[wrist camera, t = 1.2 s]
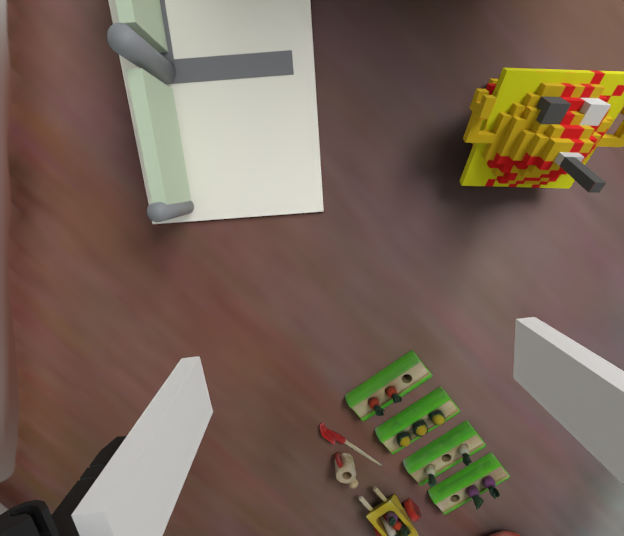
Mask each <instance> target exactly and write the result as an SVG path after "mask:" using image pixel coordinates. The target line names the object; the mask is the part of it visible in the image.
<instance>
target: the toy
mask: <svg viewBox="0 0 624 536" xmlns="http://www.w3.org/2000/svg"><path fill="white" fill-rule="evenodd" d="M623 106H624V72H618V71H588V70H558V69H528V68H503V69H502V72H501V73H500V76H499V79H492V78H490V80H489V82H488V84H487V87H486V89H477V88H476V91H475V93H474V96H473V99H472V102H471V105H470V109H471V111H472V114H471V117H470V120H469V123H468V126H467V128H466V131H465V134H464V137H463V140H464V141H465V142H466V143H472V144H473V147H472V149H471V152H470V155H469V158H468V160H467V163H466V166H465V168H464V171H463V173H462V176H461V179H460V181H459V182H460V183H461V185H462V186H495V187H534V188H570V187H571V186H572V184H573V183H574V181H577V182H578V183H579V184H580V185H581V186H582V187H583V188H584V189H585V190H586V191H588V192H598V193H599V192H600V191H601V189H602V188H603V187H604V185H605V184H606V182H605V181H604V180H602V179H601V178H600V177H599V176H597V175H596V174H595V173H594V172H592V171H591V170H590V169H589V168H588V167H586V166H585V164H586V163H587V161H588V160H589V158H590V157H591V155H592V154H593V152H594V151H595V149H596V148H597V146H601V147H623V145H624V120H623V122H622V123H621V125H620V126H619V128H618V129H617V131H616V132H615V134H606V132H607V131H608V129H609V128H610V126H611V125H612V123H613V122H614V120H615V119H616V117H617V116H618V114H619V113H621V114H623V115H624V108H623ZM622 108H623V109H622ZM621 109H622V111H621ZM620 111H621V112H620Z"/></svg>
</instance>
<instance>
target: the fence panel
mask: <svg viewBox="0 0 624 536" xmlns="http://www.w3.org/2000/svg"><path fill="white" fill-rule="evenodd" d="M126 72H127V77H128V82H129V87H130V93H131V98H132V103H133V108H134V113H135V118H136V123H137V129H138V134H139V139H140V144H141V149H142V154H143V159H144V164H145V170H146V175H147V180H148V185H149V190H150V195H151V200H152V204H150V205H149V206H148V208H147V215H148V217H149V218H150V219H151V220H152V221H154V222H162V221H166V220H169V219H173V218H176V217H180V216H183V215H187V214H190V213H192V212H193V210H194V204H193V202H192V201H191V197H190V191H189V185H188V179H187V173H186V167H185V160H184V154H183V148H182V142H181V136H180V130H179V124H178V118H177V112H176V106H175V100H174V94H173V89H172V88H170V87H169V86H167V85H166V84H164V83H163V82H161V81H160V80H158V79H157V78H155V77H154V76H152V75H151V74H150V73H148V72H147V71H145V70H144V69H142V68H137V69H126Z"/></svg>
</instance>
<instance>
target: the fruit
mask: <svg viewBox="0 0 624 536" xmlns="http://www.w3.org/2000/svg"><path fill="white" fill-rule="evenodd" d="M488 536H521V535H519V534H517V533H515V532H512V531H505V530H503V531H499V532H496V533H494V534H490V535H488Z"/></svg>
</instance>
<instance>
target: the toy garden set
mask: <svg viewBox="0 0 624 536" xmlns="http://www.w3.org/2000/svg"><path fill="white" fill-rule="evenodd" d="M405 374H409V375H408V376H407V377H404V378H403V376H404V375H405ZM431 377H432V374H431V373H430V371H429V370H428V369H427V368H426V367H425V365H424V364H423V363H422V362H421V360H420V359H419V358H418V357H417V355H416V354H415V353H414V352H413V350H411V351H410V352H408V353H407V354H405V355H404V356H402V357H401V358H399V359H398V360H396V361H395V362H394V363H392V364H391V365H389V366H388V367H386V368H385V369H383V370H382V371H380V372H379V373H377V374H376V375H374V376H373V377H371V378H370V379H368V380H367V381H365V382H364V383H362V384H361V385H359V386H358V387H357V388H355V389H354V390H352V391H351V392H349V393H348V394H346V395H345V399H346V402H347V404H348V405H349V407H350V408H352V409H353V410H354V412H355V413H356V414H357V415H358V416H359V417H360V419H361V420H362V421H366V420H367V419H369V418H370V417H372V416H373V415H375V414H376V415H377V416H380V415H381V416H382V415H384V413H383V411H385V410H384V408H386V407H387V406H389V405H390V404H392V403H393V402H394V403H397V402H401V401H402V398H401V397H403V396H404V395H406V394H407V393H409V392H410V391H412V390H413V389H415V388H416V387H418V386H419V385H421V384H422V383H424V382H426V381H427V380H429V379H430V378H431ZM459 413H460V410H459V408H458V407H457V406H456V404H455V403H454V402H453V401H452V400H451V398H450V397H449V396H448V395H447V393H446V392H445V391H444V390H443V388H442V387H441V386H440V387H438V388H437V389H435V390H434V391H432V392H431V393H429V394H428V395H426V396H425V397H423V398H421V399H420V400H418V401H417V402H415V403H414V404H412V405H411V406H409V407H408V408H406V409H405V410H403V411H402V412H400V413H398V414H397V415H395V416H394V417H392V418H391V419H389V420H388V421H386V422H385V423H383V424H382V425H380V426H379V427H377V428H376V429H375V432H376V435H377V437H378V439H379V440H380V442H381V443H383V444H384V445H385V446H386V448H387V449H388V450H389V451H390V452H391V454H395V453H396V452H398V451H400V450H401V449H403V448H404V447H406V446H408V445H409V444H411V443H412V442H414V441H415V440H417V439H419V438H420V437H422V436H423V435H425V434H427V433H428V432H430V431H432V430H433V429H435V428H436V427H438V426H440V425H442V424H444V423H445V422H446V421H448V420H449V419H451V418H452V417H454V416H455V415H457V414H459ZM319 428H320V432H321V435H322V437H324V438H325V439H327V440H328V441H330V442H331V443H332V444H334V445H335V441H337V442H339V443H340V444H343V443H344V444H346V445H348V446H349V447H351V448H352V449H354V450H355V451H357V452H358V453H360V454H362V455H363V456H365V457H367V458H368V459H370V460H371V461H373V462H374V463H376V464H378V465H380V466H382V465H381V464H380V463H379V462H377V461H376V460H374V459H373V458H372V457H370V456H369V455H367V454H366V453H365V452H363V451H362V450H360V449H359V448H357V447H356V446H354V445H353V444H351V443H350V442H348V441H347V440H346V439H345V438H344V437H343V436H341V435H340V434H338V433H336V432H334V431H331V430H329V429H326V427H325V425H324V423H321V424H320V426H319ZM485 447H486V444H485V443H484V441H483V440H482V438H481V437H480V436H479V435H478V433H477V432H476V431H475V430H474V428H473V427H472V426H471V425H470V423H469V422H468V421H467V420H466V421H465V422H463V423H461V424H460V425H458V426H457V427H455V428H453V429H452V430H450V431H449V432H447V433H446V434H444V435H442V436H441V437H439V438H438V439H436V440H434V441H433V442H431V443H430V444H428V445H426V446H425V447H423V448H422V449H420V450H418V451H417V452H415V453H414V454H412V455H410V456H409V457H407V458H406V459H404V460H403V464H404V466H405V468H406V470H407V472H408V473H409V474H410V475H411V476H412V477H413V478H414V479H415V480H416V481H417V482H418V484H419V485H420V486H422V485H423V484H425V483H427V482H428V484H429V486H430V488H431V489H429V490H428V493H429V495H430V497H431V499H432V501H433V502H434V504H436V505H437V506H438V507H439V509H440V510H441V511H442V512H443V514H444V515H446V514H448V513H449V512H451V511H453V510H455V509H456V508H458V507H460V506H462V505H463V504H465V503H467V502H468V501H470V500H472V499H473V500H474V503H475V505H476V509H478V508H480V506H481V505H482V503H483V502H484V500H483V499H482V498H480V497H479V495H481V494H482V493H484V492H486V491H488V490H489V492H490V494H491V495H492V496H493V497H494V498H495V499H496V497H499V496H500V494H499V492H498V490H497V489H496V488H495V486H496V485H498V484H500V483H502V482H503V481H505V480H507V479H509V478H510V476H509V474H508V472H507V471H506V470H505V469H504V467H503V466H502V465H501V464H500V462H499V461H498V460H497V459H496V457H495V456H494V455H493V454H492V452H490V453H489V454H487V455H486V456H484V457H482V458H481V459H479V460H477V461H475V462H474V463H472V464H470V463H471V462H472V461H471V459H470V458H469V457H470V456H471V455H473V454H475V453H476V452H478V451H480V450H481V449H483V448H485ZM461 461H463V463H464V464H465V465H466V466H467V467H465V468H464V469H462V470H461V471H459V472H457V473H456V474H454V475H452V476H451V477H449V478H447V479H446V480H444V481H442V482H441V483H439V484H437V485H436V479H435V477H437V476H438V475H440V474H442V473H443V472H445V471H446V470H448V469H450V468H451V467H453V466H455V465H456V464H458V463H460V462H461ZM334 462H335V471H336V478H337V480H338V481H339V482H341V483H345V484H346V483H349V487H350V488H352V489H355V488H356V487H357V486H358V481H357V480H356V471H355V465H354V459H353V457H352V456H351V455H350V454H347V453H343V454H340V453H339V452H338V453H336V454H335V461H334ZM469 464H470V465H469ZM468 465H469V466H468ZM435 485H436V486H435ZM373 490H374V492H375V493H376V494H377V495H378V496H379V497H380V498H381V500H382V501H383V502H381V503H379V504H378V505H376V506H375V507H373V508H372V507H371V506H370V504H369V503H368V502H367V501H366V500H365V499H364V498H363V497H362V496H359V498H358V499H359V500H360V501H361V503H362V504H363V505H364V506H365V507H366V508H367V509H368V511H369V512H368V514H367V515H366V517H367V519H368V520H369V521H370V522H371V523H372V524H373V528H374V531H375V533H376V535H377V536H419V535H418V533H417V531H416V529H415V527H414V526H413V524H412V522H411V520H412V521H414V522H415V521H417V520H419V519H420V518H421V513H420V510H419V508H418V506H417V505H416V504H415V503H414V502H413V501H412V500H411V499H410V498H408V499H407V500H405V501H404V508H405V509H404V508H403V506H402V505H401V503H400V502H399V500H398V498H397V497H396V495H395V494H394V495H392V496H390V497H389V498H386V497H385V496H384V495H383V494H382V493H381V492H380V490H379V489H378V488H377V487H376V486H374V487H373ZM495 496H496V497H495Z"/></svg>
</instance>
